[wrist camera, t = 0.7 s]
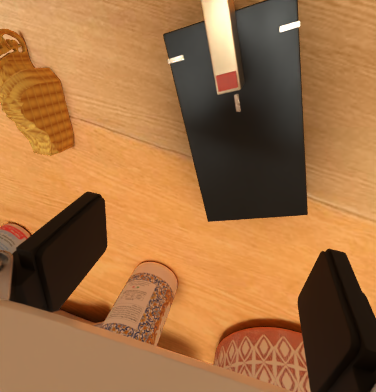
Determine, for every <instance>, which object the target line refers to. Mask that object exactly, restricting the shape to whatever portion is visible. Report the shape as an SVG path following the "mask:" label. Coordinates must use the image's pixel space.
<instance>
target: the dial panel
mask: <svg viewBox="0 0 376 392" xmlns="http://www.w3.org/2000/svg"><path fill="white" fill-rule="evenodd" d="M235 15H236V22H237V30H238V37H239V45H240V52H241V59H242V67H243V74H244V82H245V83H244V85H243V86H242V88H241V90H237V91H233V92H229V93H224V94H220V95H218V94H217V90H216V84H215V78H214V73H213V67H212V62H211V56H210V51H209V45H208V39H207V34H206V28H205V23H204V21H202V22H199V23H196V24H193V25H190V26H187V27H184V28H181V29H178V30H174V31H171V32H168V33H165V34H163V36H164V41H165V45H166V49H167V53H168V57H169V59H167V62H168V64H170V66H171V70H172V74H173V78H174V82H175V86H176V90H177V95H178V99H179V103H180V107H181V111H182V115H183V119H184V124H185V128H186V132H187V136H188V140H189V144H190V149H191V153H192V157H193V161H194V165H195V169H196V173H197V178H198V182H199V186H200V190H201V194H202V198H203V203H204V207H205V211H206V215H207V219H208V222H210V221H225V220H239V219H254V218H268V217H283V216H298V215H307V214H308V212H307V191H306V170H305V149H304V128H303V107H302V86H301V64H300V43H299V27H300V26H301V22H300V21H298V1H297V0H266V1H263V2H259V3H256V4H253V5H250V6H247V7H244V8H241V9H238V10H235Z"/></svg>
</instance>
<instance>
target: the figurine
mask: <svg viewBox="0 0 376 392" xmlns="http://www.w3.org/2000/svg"><path fill="white" fill-rule="evenodd" d="M4 34H8V35H10V36H12V37H14V38H16V39H17V40H18V41H19V43H20V44H18V43H17V42H16V41H15V40H9V39H6V41H5V39H4V38H3V37H2V36H3V35H4ZM6 42H7V43H6ZM21 46H22V52H19V51H18V48H19V47H21ZM11 49H13V50H14V52H12V53H7V52H8V51H9V50H11ZM5 53H7V54H6V55H5V56H4V57H2V58H0V103H1V106H2V110H3V111H4V112H5V113H6V114H7V117H8V118H9V119H11V120H12V121H14V122H15V123H16V126H17V128H18V129H19V130H20V131H21V132H22V133H23V134H24V135H25V136H26V138H27V139H28V140H29V142H30V144H31V146H32V149H33V152H34V153H37V154H43V155H49V156H51V155H54V154H58V153H60V152H62V151H64V150H66V149H68V148H70V147H72V146H74V145H73V144H74V134H73V130H72V126H71V122H70V118H69V114H68V110H67V106H66V102H65V98H64V94H63V90H62V86H61V82H60V80H59V79H58V78H57V76H56V75H55V74H54V73H53V72H52V71H51V69H50V68H34V66H33V65H32V63H31V61H30V58H29V55H28V51H27V48H26V44H25V42H24V40H23V39H22V37H21V36H20V35H18V34H17V33H16V32H14V31H11V30H9V29H0V56H1V55H2V54H5Z"/></svg>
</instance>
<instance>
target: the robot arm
mask: <svg viewBox="0 0 376 392" xmlns="http://www.w3.org/2000/svg"><path fill="white" fill-rule="evenodd" d="M106 248H107V231H106V214H105V200H104V199H103V198H102V196H101V195H100V194H97V193H92V192H86V193H84V194H83V195H82V196H81V197H79V198H78V199H77V200H76V201H74V202H73V203H72V204H71V205H69V206H68V207H67V208H65V209H64V210H63V211H62V212H60V213H59V214H58V215H57V216H55V217H54V218H53V219H52V220H50V221H49V222H48V223H47V224H45V225H44V226H43V227H41V228H40V229H39V230H38V231H36V232H35V233H34V234H33V235H31V236H30V237H29V238H28V239H26V240H25V241H24V242H22V243H21V244H20V245H19V246H17V247H16V251H15V252H13V253H12V254H11V253H10V252H8V251H5V250H0V392H293V391H290V390H287V389H284V388H281V387H279V386H276V385H273V384H270V383H267V382H264V381H261V380H258V379H255V378H252V377H249V376H246V375H243V374H240V373H237V372H234V371H231V370H228V369H225V368H222V367H219V366H216V365H213V364H210V363H207V362H204V361H201V360H197V359H194V358H191V357H188V356H185V355H182V354H179V353H176V352H173V351H170V350H167V349H164V348H161V347H158V346H155V345H151V344H148V343H145V342H142V341H139V340H136V339H133V338H130V337H127V336H124V335H121V334H117V333H114V332H111V331H108V330H105V329H102V328H99V327H96V326H92V325H89V324H86V323H83V322H80V321H77V320H74V319H70V318H67V317H64V316H61V315H58V314H54V313H53V312H54V311H58V310H59V309H60V308H61V306H62V305H63V304H64V302H65V301H66V300H67V299H68V297H69V296H70V295H71V294H72V292H73V291H74V290H75V289H76V287H77V286H78V285H79V284H80V282H81V281H82V280H83V278H84V277H85V276H86V275H87V273H88V272H89V271H90V270H91V268H92V267H93V266H94V265H95V263H96V262H97V261H98V260H99V258H100V257H101V256H102V254H103V253H104V252H105V250H106ZM298 310H299V317H300V323H301V330H302V337H303V344H304V351H305V358H306V365H307V371H308V378H309V385H310V391H311V392H376V318H375V316H374V313H373V311H372V309H371V306H370V304H369V302H368V300H367V297H366V296H365V294H364V293H363V292H362V291H361V288H360V286H359V284H358V281H357V279H356V277H355V274H354V272H353V270H352V267H351V265H350V262H349V260H348V258H347V255H346V254H345V253H344V252H340V251H336V250H332V249H327V250H326V252H324V251H322V252H321V253H320V255H319V257H318V259H317V261H316V263H315V265H314V267H313V269H312V271H311V273H310V275H309V277H308V279H307V281H306V283H305V285H304V287H303V289H302V291H301V293H300V295H299V297H298Z"/></svg>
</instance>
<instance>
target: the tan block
mask: <svg viewBox="0 0 376 392" xmlns="http://www.w3.org/2000/svg"><path fill="white" fill-rule="evenodd" d="M201 6H202V11H203V17H204V23H205V28H206V34H207V39H208V45H209V51H210V56H211V62H212V67H213V73H214V78H215V84H216V90H217V94H218V95H220V94H224V93H229V92H233V91H237V90H241V88H242V86H243V85H244V83H245V82H244V74H243V67H242V59H241V52H240V45H239V37H238V30H237V22H236V15H235V7H234V0H201Z"/></svg>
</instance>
